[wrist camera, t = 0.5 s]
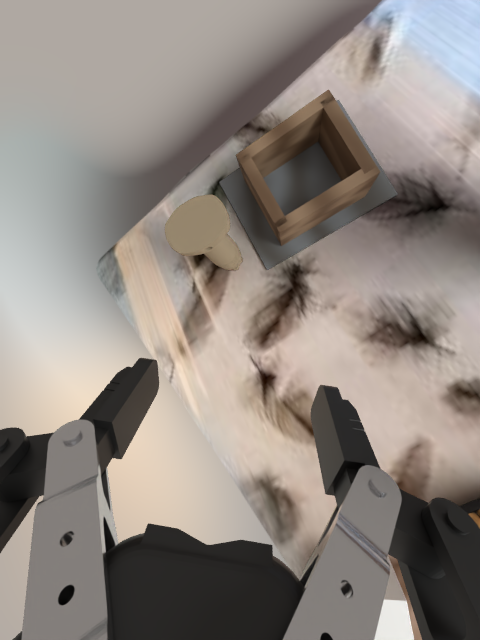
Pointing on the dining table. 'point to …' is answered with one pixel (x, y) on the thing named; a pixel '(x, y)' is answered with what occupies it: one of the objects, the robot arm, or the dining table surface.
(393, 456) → the dining table surface
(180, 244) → the handle
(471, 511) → the ammunition clip
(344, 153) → the socket holder
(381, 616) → the white cube
